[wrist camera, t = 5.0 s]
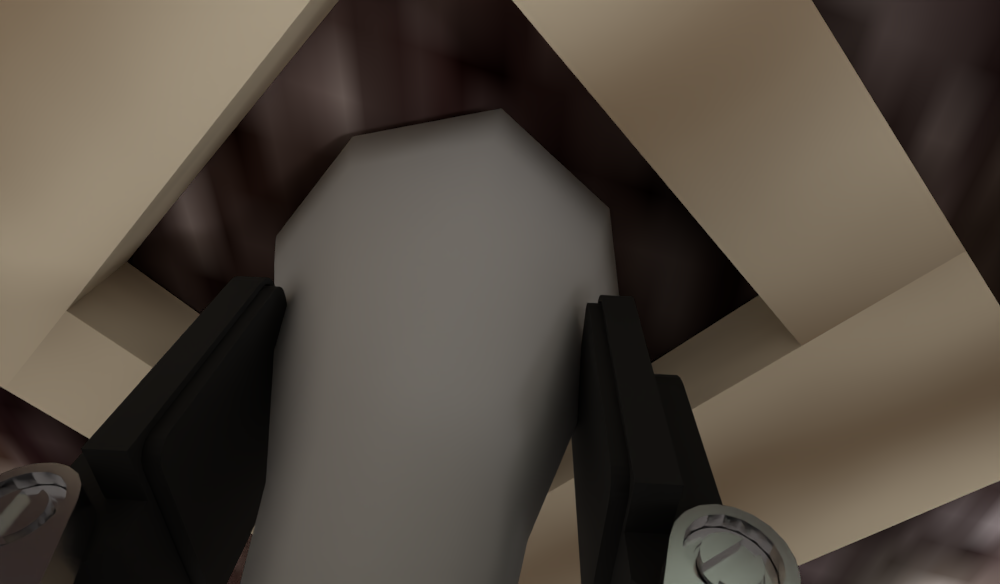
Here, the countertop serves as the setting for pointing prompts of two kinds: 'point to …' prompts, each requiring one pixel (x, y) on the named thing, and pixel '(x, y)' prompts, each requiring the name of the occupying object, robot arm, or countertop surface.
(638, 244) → the countertop surface
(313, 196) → the flask
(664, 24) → the tan flat rectangular frame
